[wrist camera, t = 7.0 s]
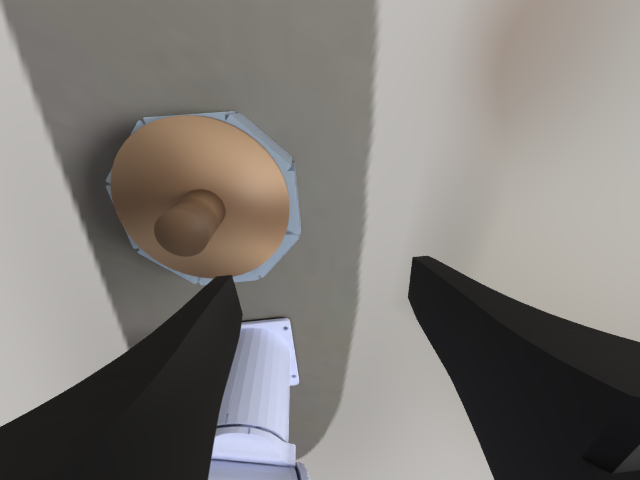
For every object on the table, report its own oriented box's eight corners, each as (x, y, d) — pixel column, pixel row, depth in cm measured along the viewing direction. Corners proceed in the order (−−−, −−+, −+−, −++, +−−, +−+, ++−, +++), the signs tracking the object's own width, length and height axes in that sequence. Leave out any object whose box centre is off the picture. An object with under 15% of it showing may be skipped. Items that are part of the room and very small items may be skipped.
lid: (296, 265, 19) (296, 306, 15) (153, 277, 18) (115, 323, 14) (280, 110, 14) (273, 111, 10) (87, 120, 14) (6, 126, 10)
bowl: (304, 254, 22) (305, 275, 19) (170, 267, 21) (152, 290, 19) (288, 107, 17) (287, 107, 14) (112, 119, 16) (76, 122, 14)
